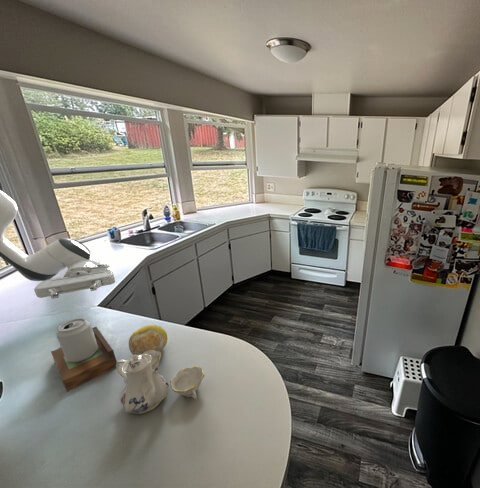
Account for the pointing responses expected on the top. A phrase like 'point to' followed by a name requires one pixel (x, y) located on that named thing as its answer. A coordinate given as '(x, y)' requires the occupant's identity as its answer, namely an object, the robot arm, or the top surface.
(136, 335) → the fruit
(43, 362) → the top surface
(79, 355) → the can
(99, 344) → the wooden box
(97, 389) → the top surface
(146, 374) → the chinaware
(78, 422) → the top surface
